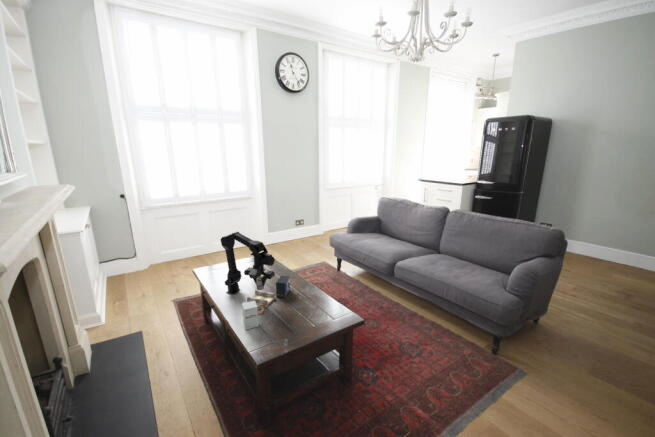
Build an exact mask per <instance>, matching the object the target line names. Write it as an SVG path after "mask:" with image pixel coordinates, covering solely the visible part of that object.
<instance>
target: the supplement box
mask: <svg viewBox="0 0 655 437" xmlns="http://www.w3.org/2000/svg"><path fill="white" fill-rule="evenodd" d="M241 311H242V320H243V321H242V323H243V327H244V329H245V331H246V330H249V329H254V328H258V327H259V315H258V308H257V304H256V302H255V301H251V302H247V301H246V302H243V303H241Z"/></svg>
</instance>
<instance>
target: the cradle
mask: <svg viewBox="0 0 655 437" xmlns="http://www.w3.org/2000/svg"><path fill="white" fill-rule="evenodd" d="M276 298H277V297H276V294H275V293H274V292H269V291H264V290H257V289H255V290H254V295H253V296H247V298H246V300H247V301H246V302H251V301H255V302H256V304H257V306H261V307H263V308H268V307H269V306H270V304H272V302H273V301H274V300H275V299H276Z"/></svg>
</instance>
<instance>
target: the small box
mask: <svg viewBox="0 0 655 437" xmlns="http://www.w3.org/2000/svg"><path fill="white" fill-rule="evenodd" d="M290 278H291V277H290V276H289V275H280V277H279V278H278V279H277V280H276V282H275V289H276V290H275V293H276V294H275V296H276V298H277V297H279V298H286V297H287V296H288V294H289V293H290V291H291V279H290Z"/></svg>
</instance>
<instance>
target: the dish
mask: <svg viewBox="0 0 655 437" xmlns="http://www.w3.org/2000/svg"><path fill="white" fill-rule="evenodd" d="M257 308H258V316H260V315H262V314H263V313H264V312H265V307H261V306H257Z"/></svg>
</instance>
